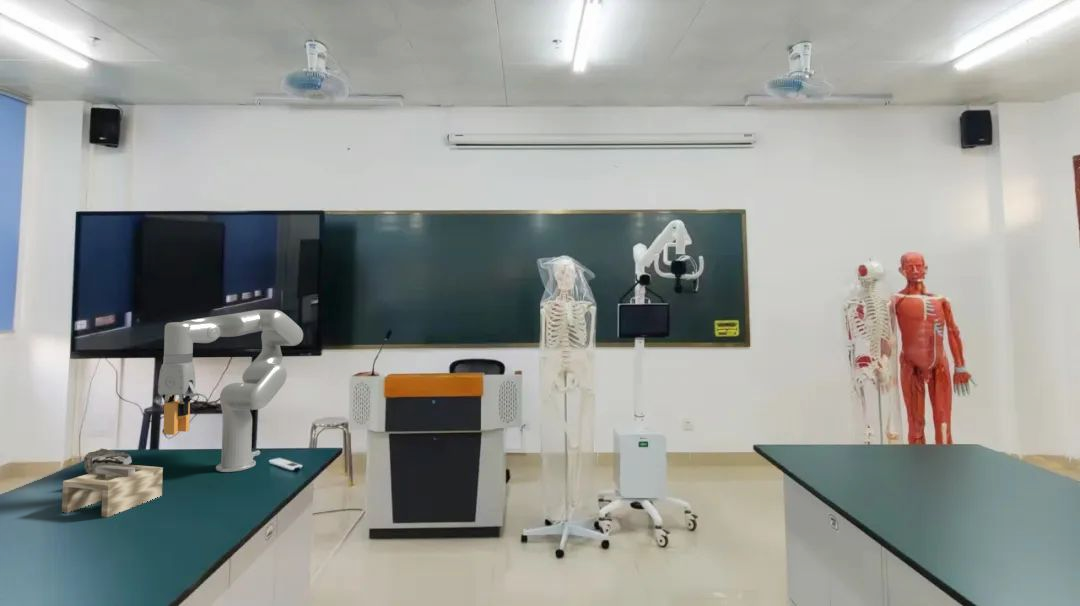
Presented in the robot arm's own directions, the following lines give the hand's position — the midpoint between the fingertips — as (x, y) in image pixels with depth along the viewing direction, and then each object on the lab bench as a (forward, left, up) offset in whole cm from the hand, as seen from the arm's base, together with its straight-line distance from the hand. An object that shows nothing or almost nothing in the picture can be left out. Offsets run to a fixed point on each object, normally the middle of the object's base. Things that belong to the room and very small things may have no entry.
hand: (177, 414), depth 155 cm
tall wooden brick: (0, 0, -6) cm, 6 cm away
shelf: (+13, -7, -25) cm, 29 cm away
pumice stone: (-9, -40, -25) cm, 48 cm away
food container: (+1, -22, -25) cm, 33 cm away
